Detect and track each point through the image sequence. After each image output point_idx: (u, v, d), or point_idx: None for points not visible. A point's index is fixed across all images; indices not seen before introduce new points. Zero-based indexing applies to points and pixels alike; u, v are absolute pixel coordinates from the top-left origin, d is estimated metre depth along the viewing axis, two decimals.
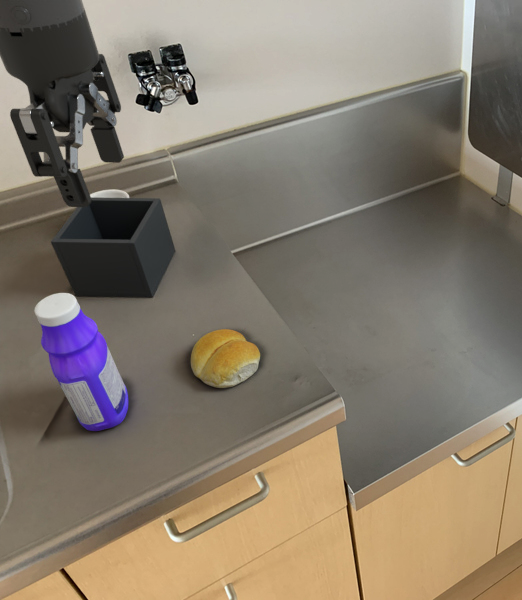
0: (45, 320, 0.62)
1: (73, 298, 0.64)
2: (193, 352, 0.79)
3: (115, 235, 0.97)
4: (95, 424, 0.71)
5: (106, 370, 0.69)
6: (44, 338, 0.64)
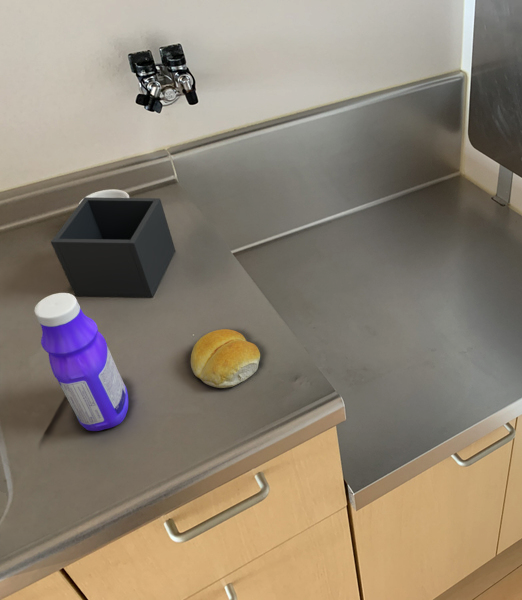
0: (45, 320, 0.62)
1: (73, 298, 0.64)
2: (193, 352, 0.79)
3: (115, 235, 0.97)
4: (95, 424, 0.71)
5: (106, 370, 0.69)
6: (44, 338, 0.64)
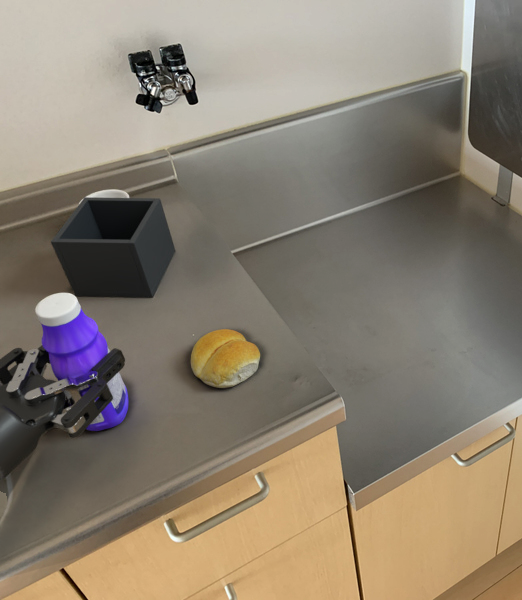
0: (46, 319, 0.62)
1: (74, 298, 0.64)
2: (193, 352, 0.79)
3: (115, 235, 0.97)
4: (95, 424, 0.71)
5: None
6: (45, 338, 0.64)
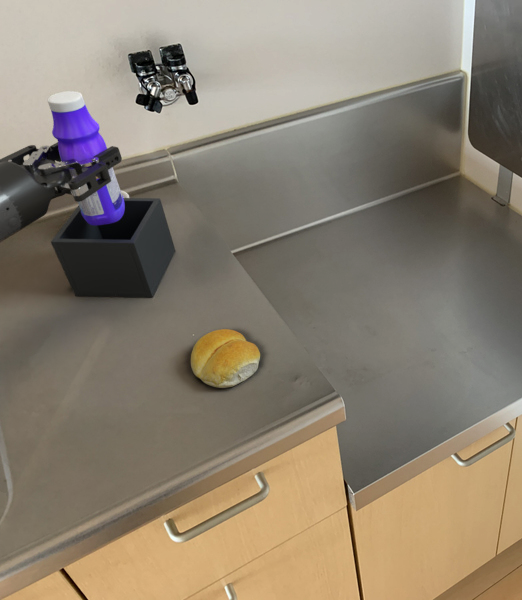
0: (56, 105, 0.75)
1: (79, 93, 0.78)
2: (193, 352, 0.79)
3: (115, 235, 0.97)
4: (96, 216, 0.84)
5: None
6: (55, 127, 0.78)
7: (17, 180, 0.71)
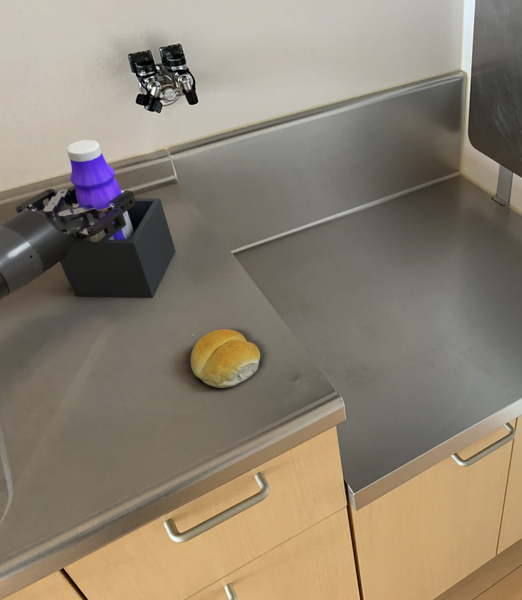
0: (75, 155, 0.80)
1: (96, 143, 0.82)
2: (193, 352, 0.79)
3: None
4: None
5: None
6: (73, 174, 0.82)
7: (39, 228, 0.76)
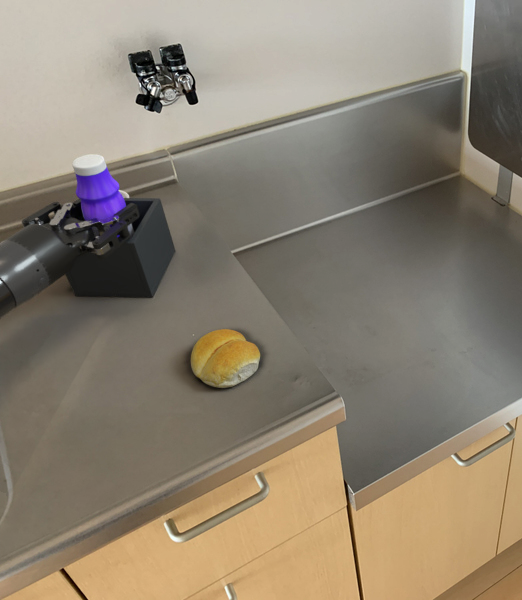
0: (81, 169, 0.81)
1: (101, 157, 0.83)
2: (193, 352, 0.79)
3: None
4: None
5: None
6: (78, 188, 0.83)
7: (46, 242, 0.77)
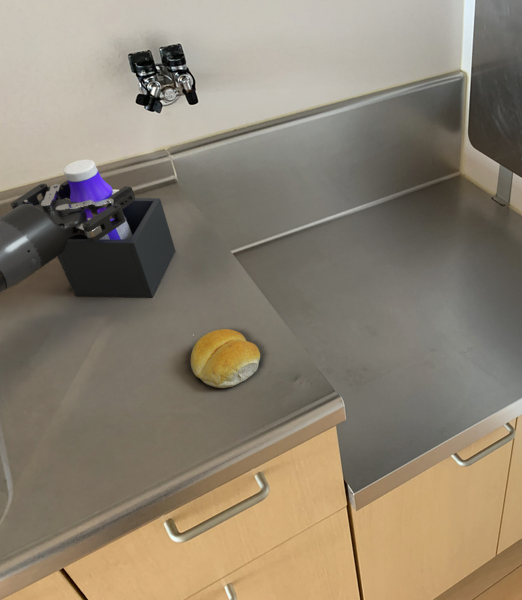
0: (72, 176, 0.82)
1: (92, 162, 0.84)
2: (193, 352, 0.79)
3: None
4: None
5: (121, 224, 0.88)
6: (72, 194, 0.84)
7: (37, 223, 0.75)
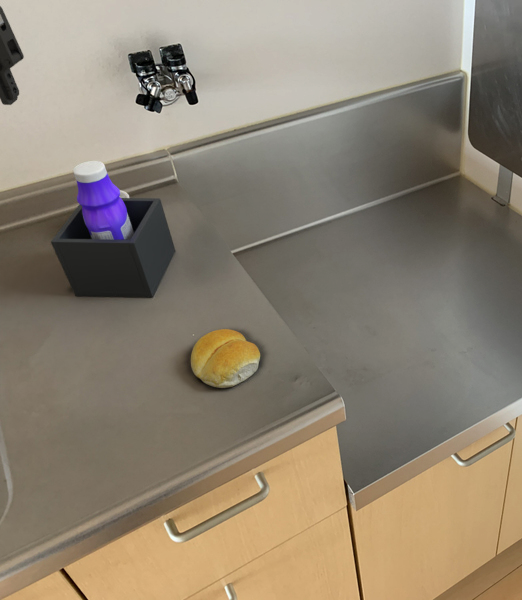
0: (81, 177, 0.82)
1: (102, 164, 0.84)
2: (193, 352, 0.79)
3: None
4: None
5: (126, 226, 0.88)
6: (79, 194, 0.84)
7: None
